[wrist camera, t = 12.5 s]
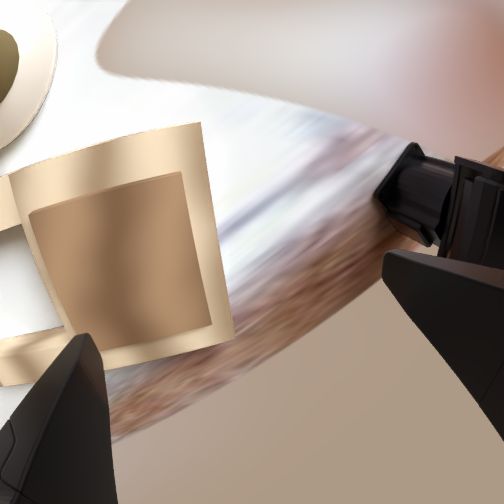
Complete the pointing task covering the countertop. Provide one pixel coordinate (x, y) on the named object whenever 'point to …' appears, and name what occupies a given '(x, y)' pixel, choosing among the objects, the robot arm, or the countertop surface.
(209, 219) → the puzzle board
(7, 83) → the cork
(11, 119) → the ceramic pad
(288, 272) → the countertop surface
